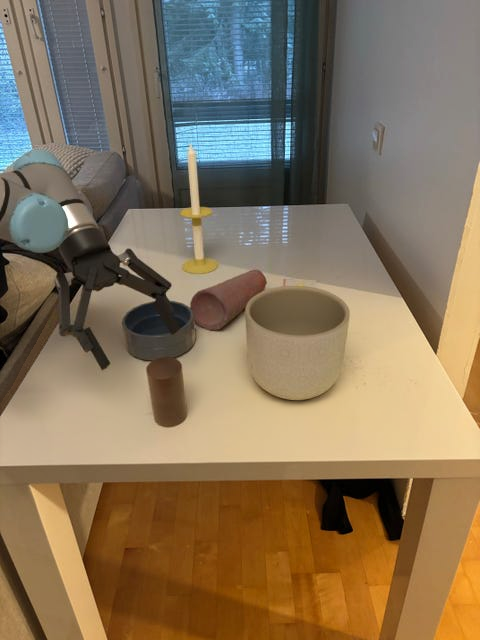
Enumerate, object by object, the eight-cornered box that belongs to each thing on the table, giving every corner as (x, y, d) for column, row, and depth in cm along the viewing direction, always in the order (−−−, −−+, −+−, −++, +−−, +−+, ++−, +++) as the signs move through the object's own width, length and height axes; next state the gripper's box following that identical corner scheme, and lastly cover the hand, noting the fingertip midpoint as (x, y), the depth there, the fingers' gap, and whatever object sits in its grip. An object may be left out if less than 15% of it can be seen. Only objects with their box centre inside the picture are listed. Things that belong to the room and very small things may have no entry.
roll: (167, 432, 74) (160, 383, 69) (147, 415, 78) (139, 367, 72) (193, 415, 77) (189, 366, 72) (173, 399, 81) (167, 352, 76)
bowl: (153, 372, 88) (149, 345, 85) (113, 343, 97) (108, 318, 93) (209, 341, 96) (207, 316, 93) (168, 317, 105) (165, 294, 102)
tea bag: (283, 315, 105) (284, 274, 99) (313, 317, 103) (316, 276, 98) (281, 323, 101) (282, 282, 96) (312, 326, 100) (315, 284, 95)
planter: (259, 349, 93) (258, 281, 85) (345, 361, 89) (353, 290, 81) (235, 404, 79) (232, 329, 72) (336, 421, 75) (345, 343, 67)
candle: (204, 255, 134) (195, 136, 118) (225, 266, 128) (219, 141, 111) (174, 265, 129) (161, 142, 112) (195, 277, 122) (184, 148, 105)
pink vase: (227, 335, 98) (225, 298, 93) (190, 325, 102) (186, 289, 97) (270, 293, 114) (271, 259, 109) (237, 285, 118) (236, 252, 113)
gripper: (135, 229, 87) (193, 326, 86) (0, 272, 73) (67, 390, 71) (148, 207, 81) (210, 311, 80) (4, 249, 67) (77, 377, 65)
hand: (143, 348), depth 75 cm, fingers open, 13 cm apart
